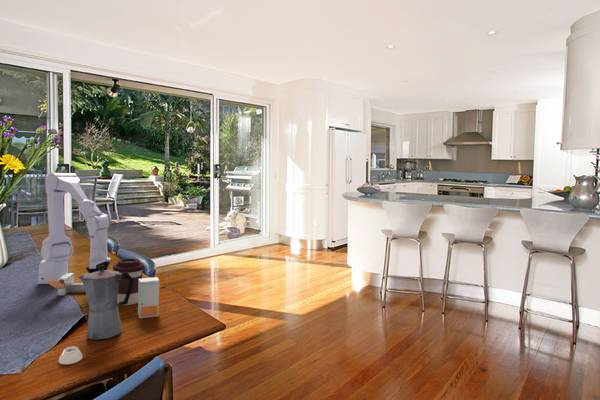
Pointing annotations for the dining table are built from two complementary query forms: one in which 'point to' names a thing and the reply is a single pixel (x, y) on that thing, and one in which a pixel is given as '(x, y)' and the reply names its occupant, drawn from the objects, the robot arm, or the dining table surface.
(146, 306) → the skincare box
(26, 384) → the dining table surface
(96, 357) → the dining table surface
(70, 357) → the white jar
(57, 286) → the lever
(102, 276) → the moka pot
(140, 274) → the coffee cup
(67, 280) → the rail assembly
